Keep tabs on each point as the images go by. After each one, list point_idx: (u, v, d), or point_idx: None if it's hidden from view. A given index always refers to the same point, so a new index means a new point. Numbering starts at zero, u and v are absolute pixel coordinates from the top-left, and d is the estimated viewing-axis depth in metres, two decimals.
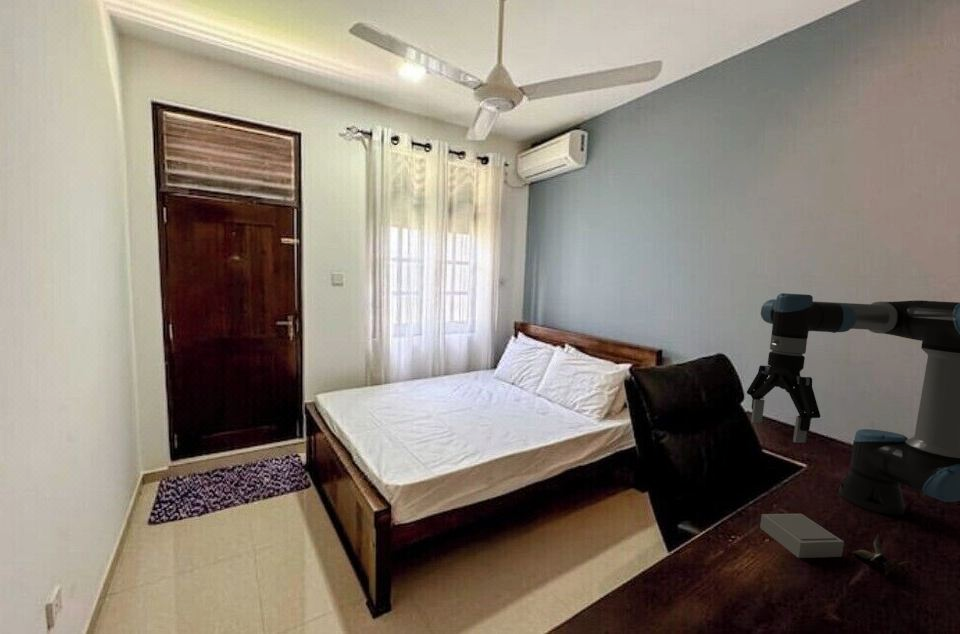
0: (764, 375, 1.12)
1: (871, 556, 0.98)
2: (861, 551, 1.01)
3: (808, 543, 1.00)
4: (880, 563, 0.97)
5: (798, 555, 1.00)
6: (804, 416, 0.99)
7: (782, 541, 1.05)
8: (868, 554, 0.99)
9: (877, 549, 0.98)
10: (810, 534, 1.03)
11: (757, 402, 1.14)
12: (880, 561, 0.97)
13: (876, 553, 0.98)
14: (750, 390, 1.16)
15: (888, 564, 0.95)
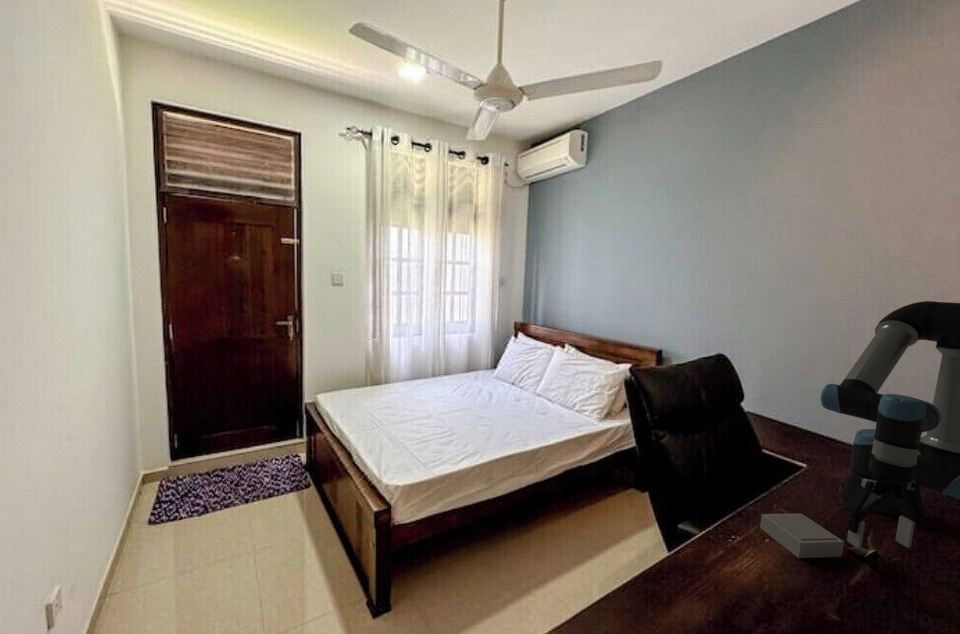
0: (909, 490, 0.98)
1: (865, 552, 1.00)
2: (855, 547, 1.02)
3: (808, 543, 1.00)
4: (874, 559, 0.98)
5: (798, 555, 1.00)
6: None
7: (782, 541, 1.05)
8: (862, 550, 1.00)
9: (871, 545, 1.00)
10: (810, 534, 1.03)
11: (902, 519, 0.99)
12: (874, 557, 0.98)
13: (870, 549, 0.99)
14: None
15: (882, 560, 0.97)
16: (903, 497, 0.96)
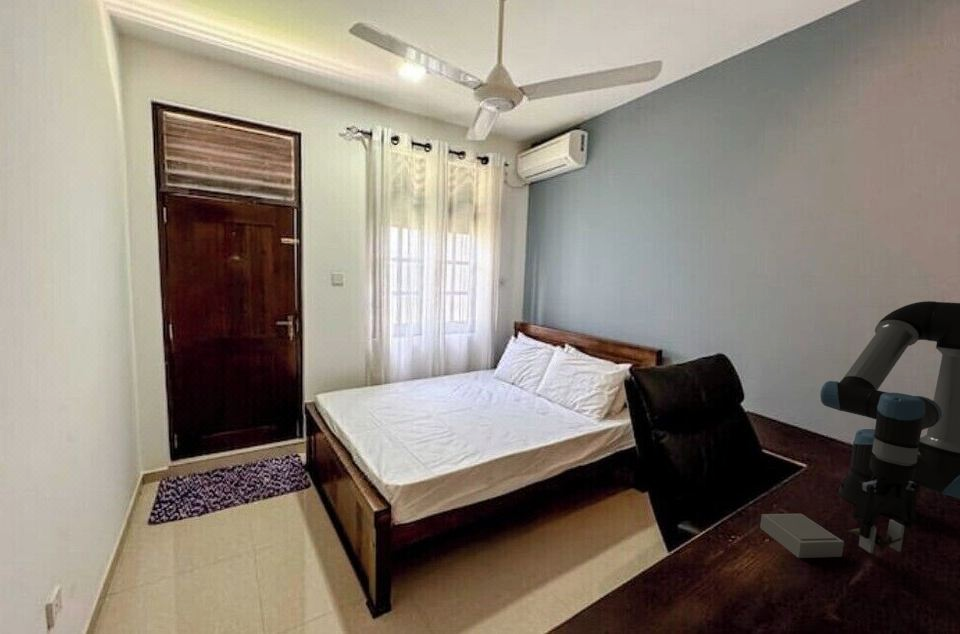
0: (906, 491, 0.98)
1: None
2: (856, 530, 1.04)
3: (808, 543, 1.00)
4: (875, 541, 0.99)
5: (798, 555, 1.00)
6: None
7: (782, 541, 1.05)
8: None
9: None
10: (810, 534, 1.03)
11: (892, 523, 1.00)
12: (875, 539, 1.00)
13: None
14: None
15: (883, 541, 0.98)
16: (901, 496, 0.96)
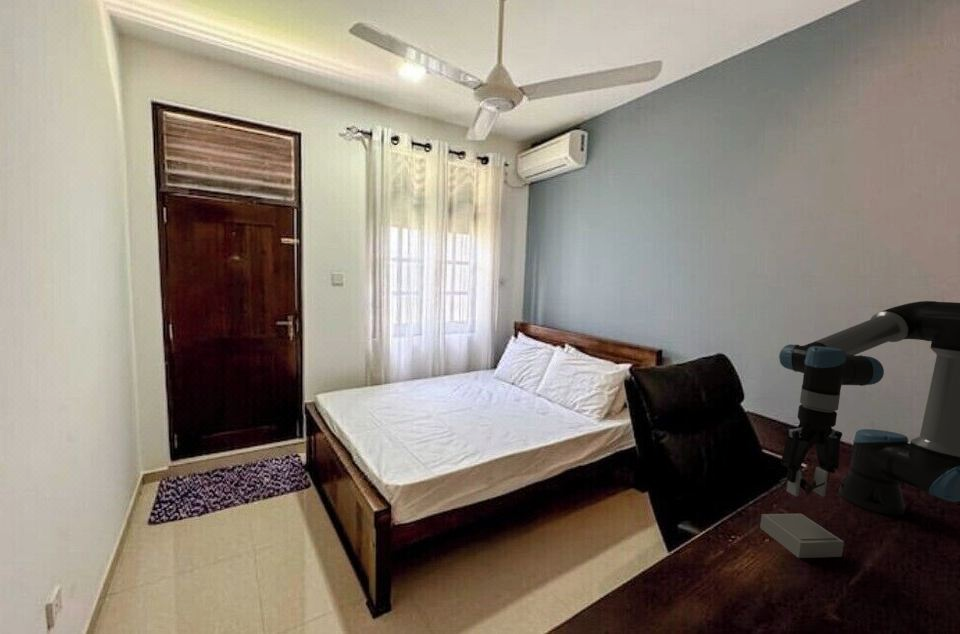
0: (831, 439, 1.05)
1: None
2: (786, 478, 1.10)
3: (808, 543, 1.00)
4: (801, 486, 1.06)
5: (798, 555, 1.00)
6: None
7: (782, 541, 1.05)
8: None
9: None
10: (810, 534, 1.03)
11: (818, 470, 1.06)
12: (802, 484, 1.06)
13: None
14: None
15: (808, 486, 1.04)
16: (825, 442, 1.03)
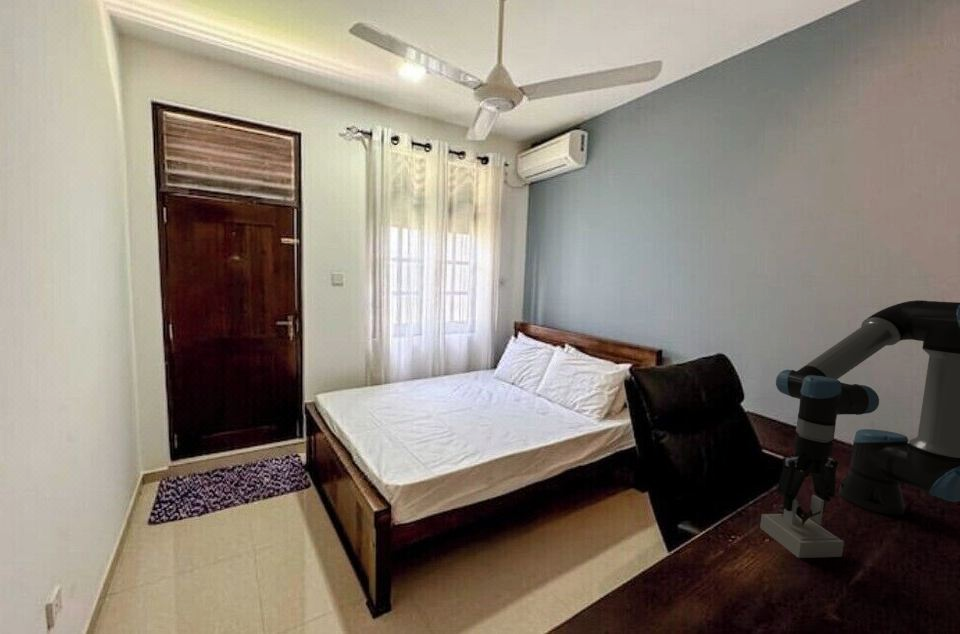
0: (827, 468, 1.05)
1: None
2: None
3: (808, 543, 1.00)
4: (798, 514, 1.06)
5: (798, 555, 1.00)
6: None
7: (782, 541, 1.05)
8: None
9: None
10: (810, 534, 1.03)
11: (814, 498, 1.07)
12: (798, 512, 1.07)
13: None
14: None
15: (804, 514, 1.05)
16: (820, 471, 1.03)
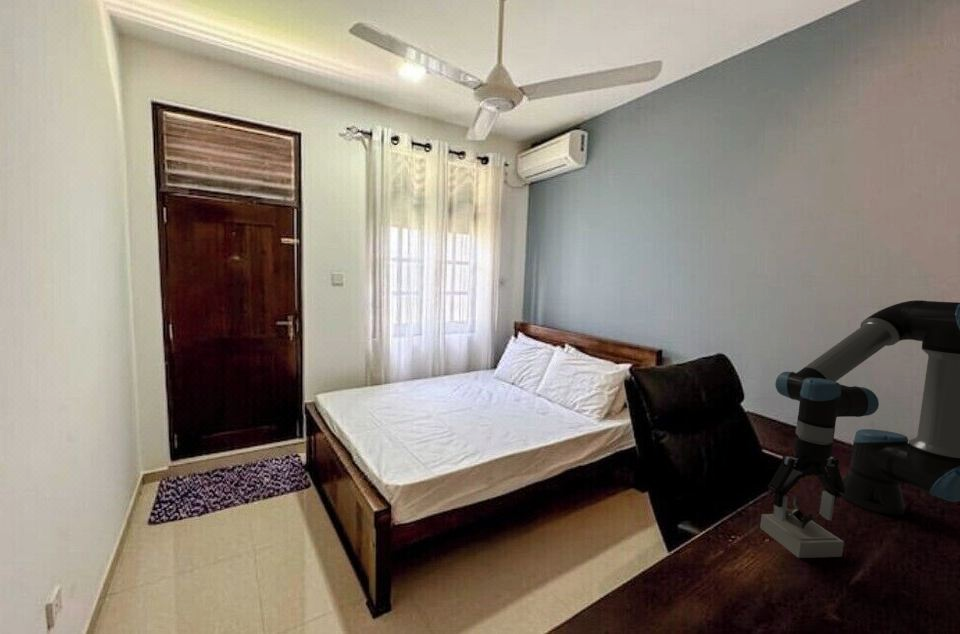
0: (829, 467, 1.05)
1: (790, 512, 1.08)
2: None
3: (808, 543, 1.00)
4: (798, 518, 1.06)
5: (798, 555, 1.00)
6: None
7: (782, 541, 1.05)
8: (788, 510, 1.09)
9: (796, 505, 1.08)
10: (810, 534, 1.03)
11: (824, 494, 1.07)
12: (798, 516, 1.07)
13: (794, 509, 1.07)
14: None
15: (804, 518, 1.05)
16: (823, 473, 1.03)
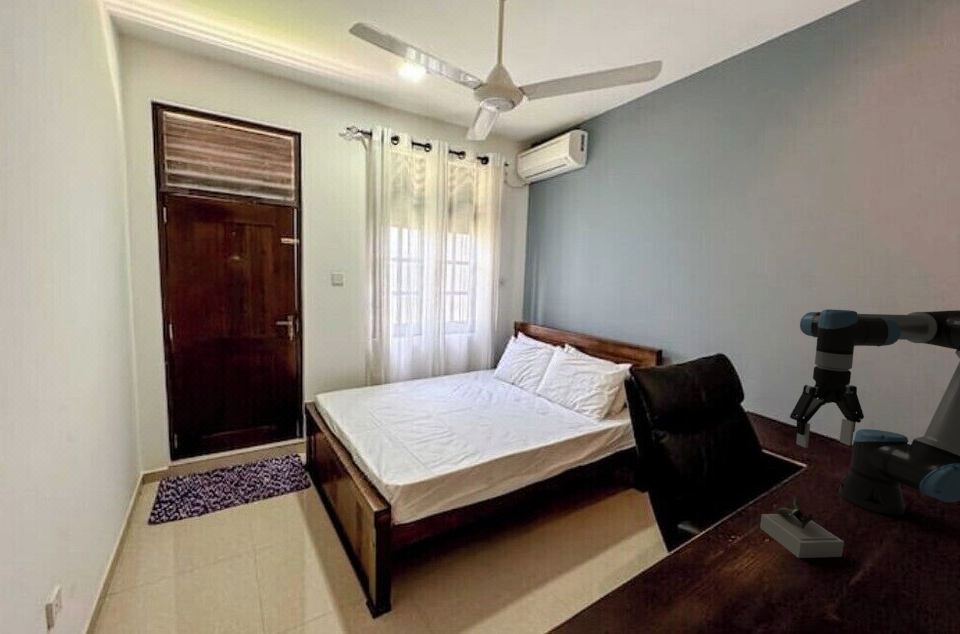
0: (848, 394, 1.10)
1: (790, 512, 1.08)
2: (783, 508, 1.11)
3: (808, 543, 1.00)
4: (798, 518, 1.06)
5: (798, 555, 1.00)
6: None
7: (782, 541, 1.05)
8: (788, 510, 1.09)
9: (796, 505, 1.08)
10: (810, 534, 1.03)
11: (844, 421, 1.11)
12: (798, 516, 1.07)
13: (794, 509, 1.07)
14: None
15: (804, 518, 1.05)
16: (842, 400, 1.07)
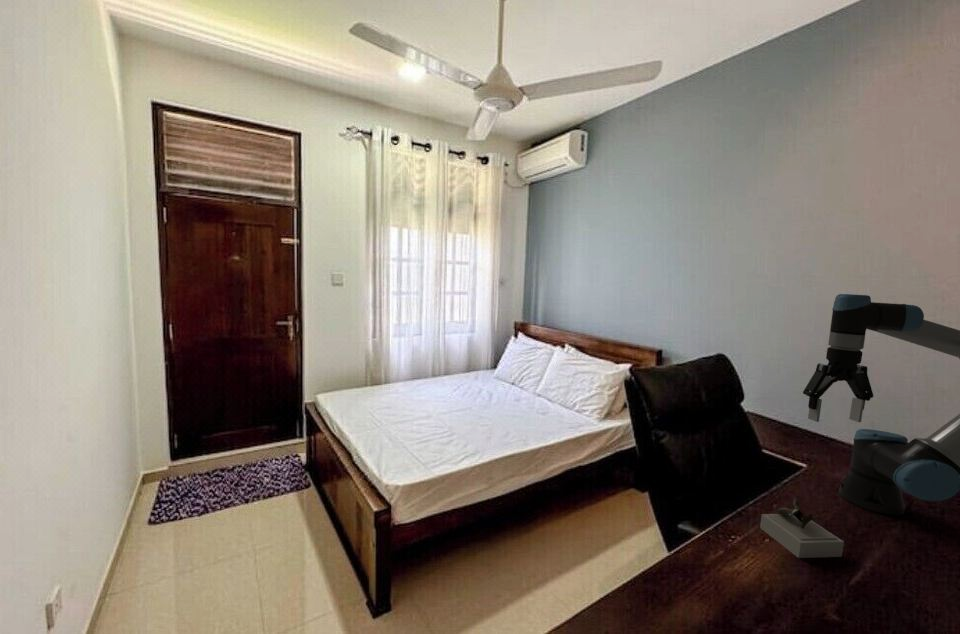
0: (859, 374, 1.17)
1: (790, 512, 1.08)
2: (783, 508, 1.11)
3: (808, 543, 1.00)
4: (798, 518, 1.06)
5: (798, 555, 1.00)
6: None
7: (782, 541, 1.05)
8: (788, 510, 1.09)
9: (796, 505, 1.08)
10: (810, 534, 1.03)
11: (854, 400, 1.19)
12: (798, 516, 1.07)
13: (794, 509, 1.07)
14: None
15: (804, 518, 1.05)
16: (853, 378, 1.15)
